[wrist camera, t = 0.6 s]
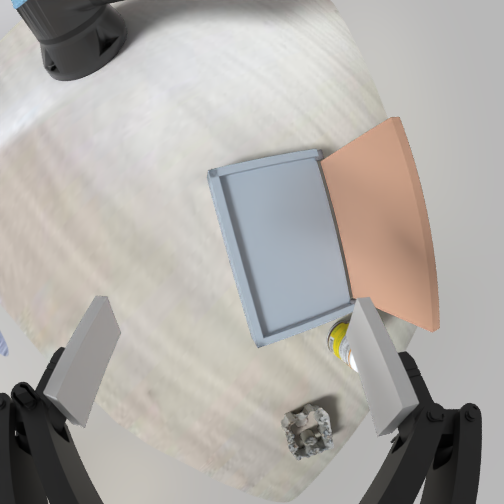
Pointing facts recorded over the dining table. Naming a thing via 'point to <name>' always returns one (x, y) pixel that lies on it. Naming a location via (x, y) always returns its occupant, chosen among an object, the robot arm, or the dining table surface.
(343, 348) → the supplement bottle
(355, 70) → the dining table surface
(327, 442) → the egg carton
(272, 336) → the blue-grey tray
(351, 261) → the panel
